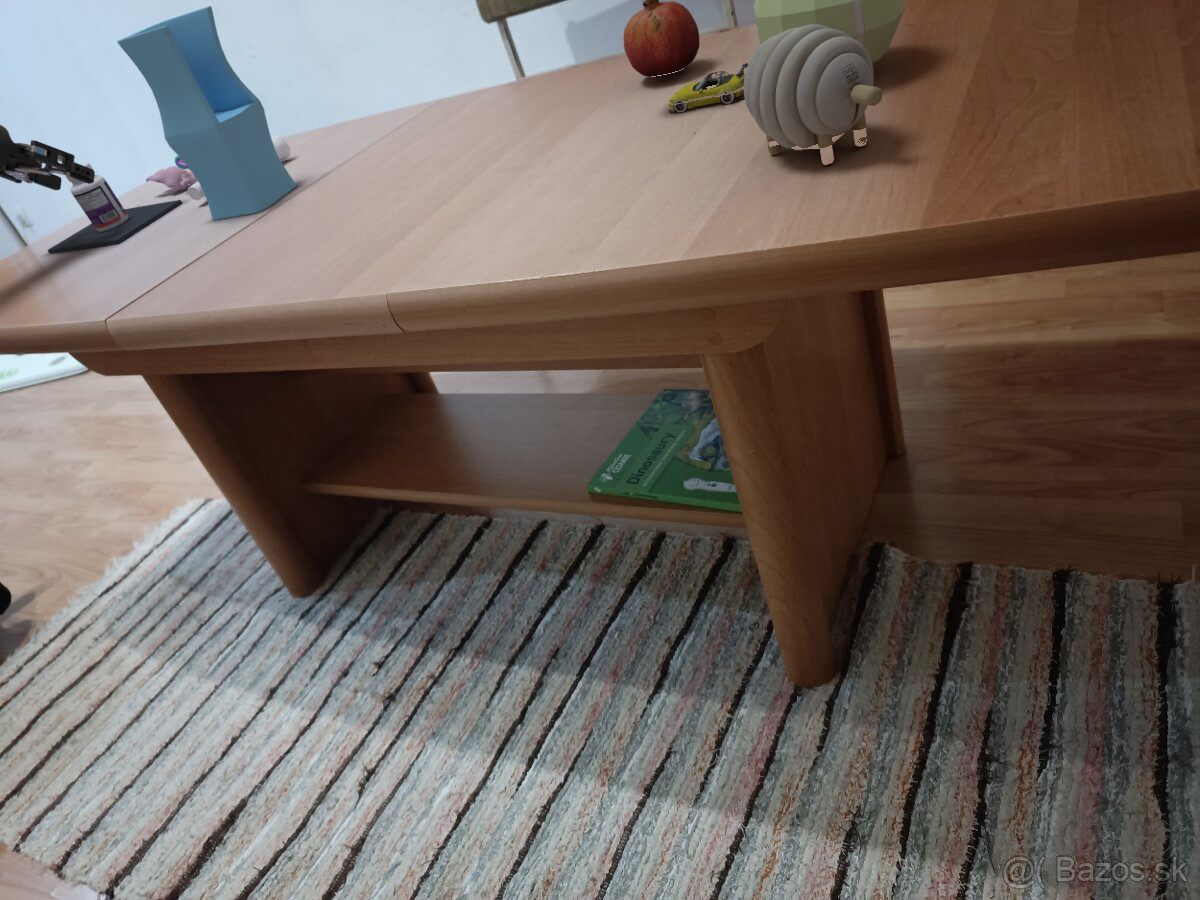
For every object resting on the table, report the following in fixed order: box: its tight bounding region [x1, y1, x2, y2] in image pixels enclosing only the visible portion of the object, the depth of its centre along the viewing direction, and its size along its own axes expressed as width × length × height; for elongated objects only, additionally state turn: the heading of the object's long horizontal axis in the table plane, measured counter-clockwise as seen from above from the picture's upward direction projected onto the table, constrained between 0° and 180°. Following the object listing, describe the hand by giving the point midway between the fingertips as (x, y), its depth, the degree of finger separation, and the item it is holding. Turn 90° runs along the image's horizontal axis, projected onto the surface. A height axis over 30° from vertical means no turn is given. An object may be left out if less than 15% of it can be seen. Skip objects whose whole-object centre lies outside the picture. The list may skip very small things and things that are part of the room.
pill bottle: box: [64, 162, 129, 232], centre depth 138 cm, size 5×5×10 cm
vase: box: [116, 5, 298, 221], centre depth 122 cm, size 10×10×25 cm
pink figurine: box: [145, 155, 197, 191], centre depth 148 cm, size 6×6×15 cm
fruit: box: [622, 0, 700, 79], centre depth 115 cm, size 11×10×10 cm
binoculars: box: [187, 134, 291, 201], centre depth 140 cm, size 10×16×5 cm, turn 163°
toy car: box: [667, 62, 749, 114], centre depth 103 cm, size 5×10×3 cm, turn 70°
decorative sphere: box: [753, 0, 906, 65], centre depth 93 cm, size 15×15×15 cm
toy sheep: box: [740, 24, 883, 156], centre depth 79 cm, size 11×17×11 cm, turn 35°
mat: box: [46, 199, 183, 254], centre depth 142 cm, size 18×14×1 cm
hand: (76, 181), depth 136 cm, fingers open, 8 cm apart
